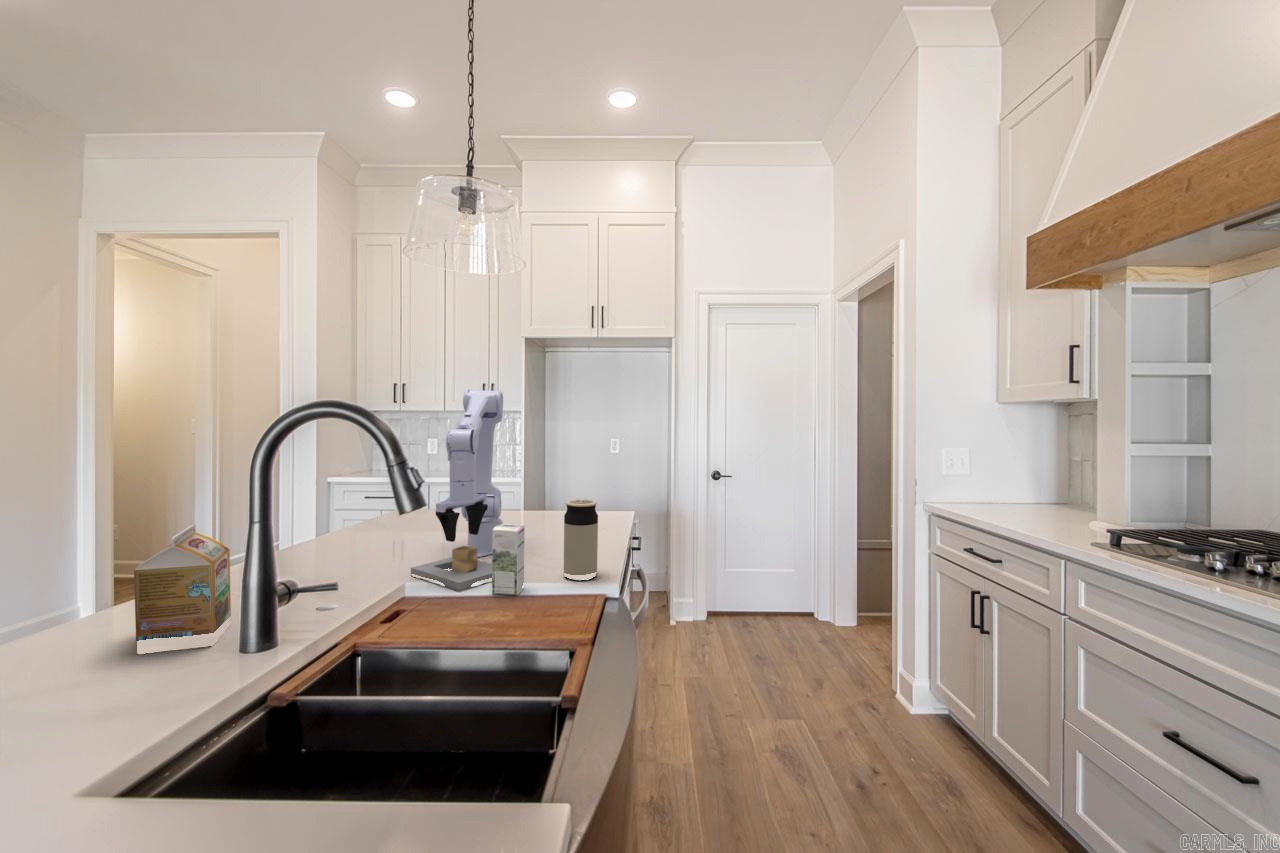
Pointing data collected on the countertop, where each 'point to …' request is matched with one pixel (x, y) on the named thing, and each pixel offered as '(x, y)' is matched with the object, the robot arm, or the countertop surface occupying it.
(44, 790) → the countertop surface
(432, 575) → the keyhole board
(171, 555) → the milk carton
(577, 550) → the travel mug
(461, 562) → the keyhole peg
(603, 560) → the countertop surface
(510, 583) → the syrup box
